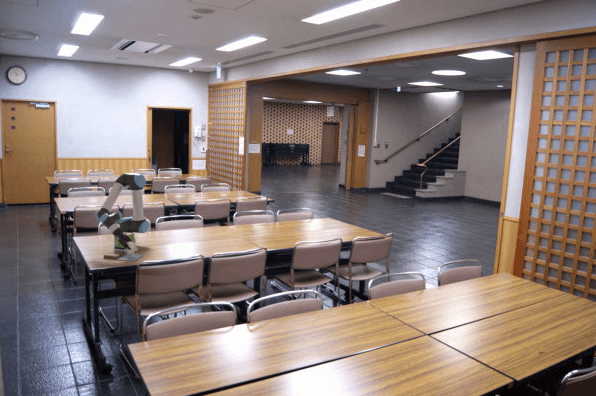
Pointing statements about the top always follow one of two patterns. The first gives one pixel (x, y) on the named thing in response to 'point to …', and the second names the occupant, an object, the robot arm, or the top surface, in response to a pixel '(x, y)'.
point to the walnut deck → (114, 254)
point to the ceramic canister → (131, 247)
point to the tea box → (119, 246)
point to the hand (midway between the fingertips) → (135, 251)
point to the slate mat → (130, 257)
